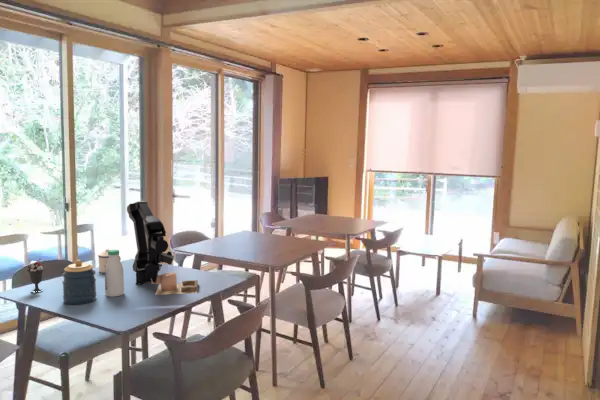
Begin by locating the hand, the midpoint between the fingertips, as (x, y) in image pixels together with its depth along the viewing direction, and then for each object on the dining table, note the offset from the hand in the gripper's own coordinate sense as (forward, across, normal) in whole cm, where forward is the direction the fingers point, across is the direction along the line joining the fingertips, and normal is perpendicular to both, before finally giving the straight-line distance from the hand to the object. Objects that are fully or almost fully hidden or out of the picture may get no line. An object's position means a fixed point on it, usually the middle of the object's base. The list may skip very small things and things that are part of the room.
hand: (154, 281), depth 218 cm
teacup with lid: (+5, +40, +27) cm, 48 cm away
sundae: (+5, +7, +52) cm, 53 cm away
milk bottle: (+5, -2, +17) cm, 18 cm away
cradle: (+4, 0, -10) cm, 11 cm away
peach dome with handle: (+3, 0, -4) cm, 5 cm away
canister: (+5, -8, +30) cm, 31 cm away
